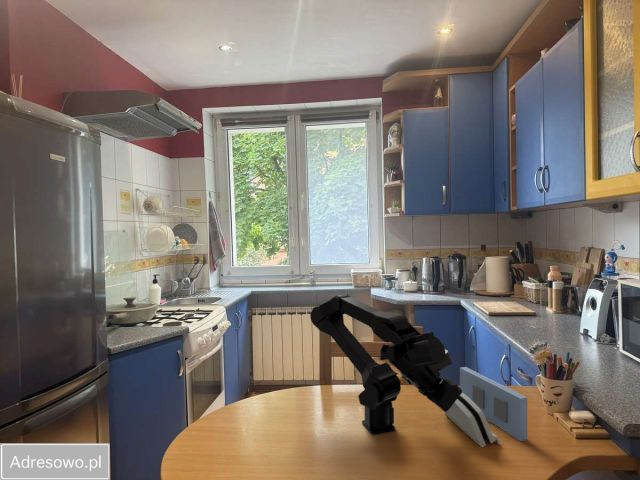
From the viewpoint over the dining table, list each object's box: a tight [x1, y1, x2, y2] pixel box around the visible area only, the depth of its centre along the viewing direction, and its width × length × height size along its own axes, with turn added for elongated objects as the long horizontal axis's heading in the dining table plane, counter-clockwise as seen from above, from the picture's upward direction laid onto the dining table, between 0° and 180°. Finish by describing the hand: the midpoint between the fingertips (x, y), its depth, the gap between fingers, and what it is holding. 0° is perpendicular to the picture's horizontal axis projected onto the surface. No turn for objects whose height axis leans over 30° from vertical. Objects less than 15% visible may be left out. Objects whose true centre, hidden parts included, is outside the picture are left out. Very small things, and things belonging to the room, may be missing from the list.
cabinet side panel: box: [459, 366, 528, 442], centre depth 102 cm, size 2×22×10 cm, turn 17°
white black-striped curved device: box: [444, 393, 501, 448], centre depth 98 cm, size 17×5×10 cm, turn 11°
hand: (450, 403), depth 97 cm, fingers closed
